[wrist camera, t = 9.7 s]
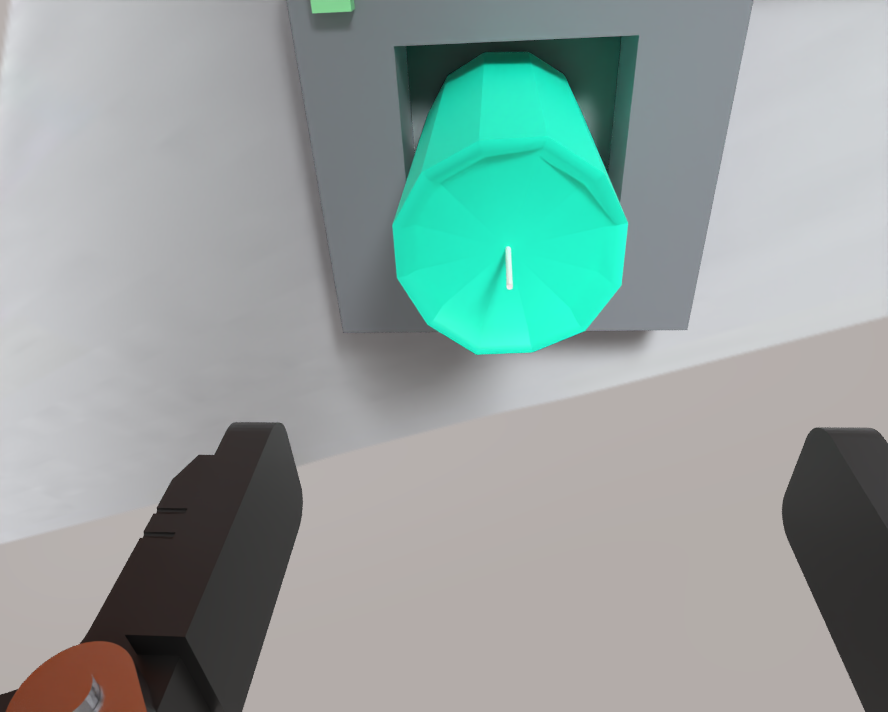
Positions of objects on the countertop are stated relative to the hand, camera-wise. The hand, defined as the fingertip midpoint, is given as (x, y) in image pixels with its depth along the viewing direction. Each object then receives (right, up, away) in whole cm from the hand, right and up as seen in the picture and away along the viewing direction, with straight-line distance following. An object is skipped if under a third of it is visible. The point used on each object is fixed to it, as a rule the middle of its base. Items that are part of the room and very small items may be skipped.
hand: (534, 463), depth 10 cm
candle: (+1, +10, +15) cm, 18 cm away
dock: (+1, +10, +14) cm, 18 cm away
